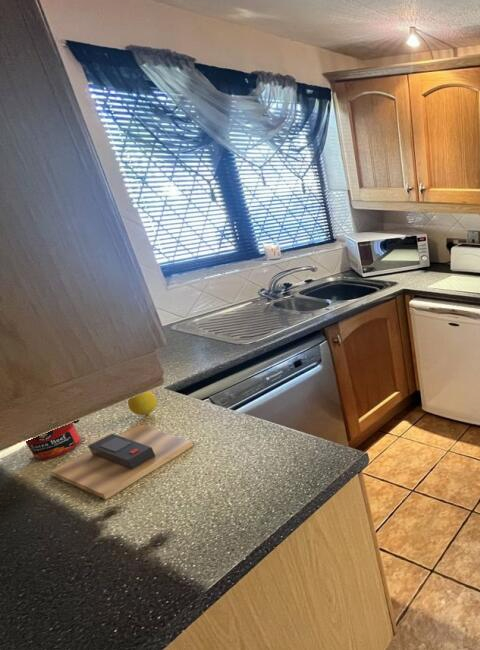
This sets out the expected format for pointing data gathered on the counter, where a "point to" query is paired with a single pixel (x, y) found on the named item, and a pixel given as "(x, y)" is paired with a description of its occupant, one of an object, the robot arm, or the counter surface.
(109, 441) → the remote
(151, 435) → the board
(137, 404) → the lemon
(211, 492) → the counter surface
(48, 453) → the canned food
